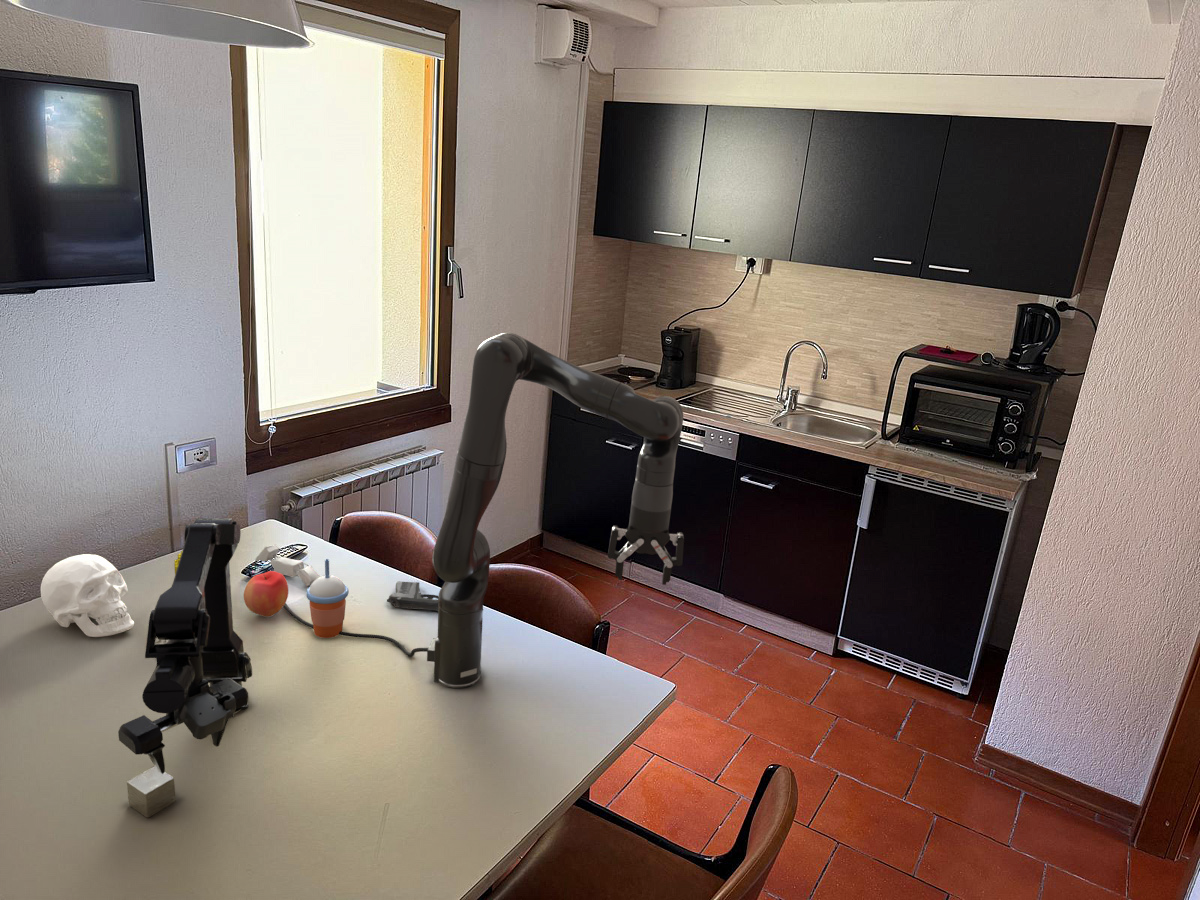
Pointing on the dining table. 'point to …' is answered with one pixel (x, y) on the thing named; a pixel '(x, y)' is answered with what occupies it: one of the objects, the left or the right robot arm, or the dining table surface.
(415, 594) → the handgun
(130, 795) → the metal cube
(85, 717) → the dining table surface
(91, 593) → the skull
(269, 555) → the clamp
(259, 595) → the apple
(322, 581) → the cup with straw
